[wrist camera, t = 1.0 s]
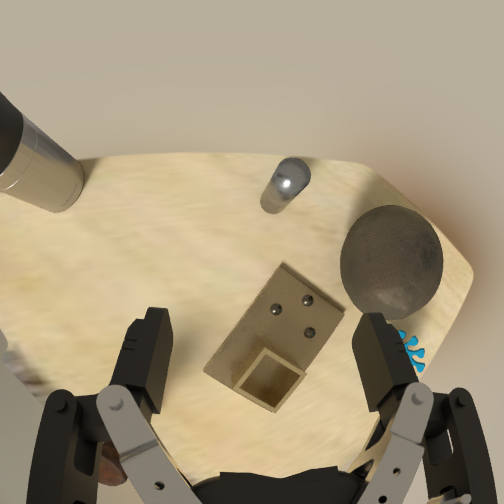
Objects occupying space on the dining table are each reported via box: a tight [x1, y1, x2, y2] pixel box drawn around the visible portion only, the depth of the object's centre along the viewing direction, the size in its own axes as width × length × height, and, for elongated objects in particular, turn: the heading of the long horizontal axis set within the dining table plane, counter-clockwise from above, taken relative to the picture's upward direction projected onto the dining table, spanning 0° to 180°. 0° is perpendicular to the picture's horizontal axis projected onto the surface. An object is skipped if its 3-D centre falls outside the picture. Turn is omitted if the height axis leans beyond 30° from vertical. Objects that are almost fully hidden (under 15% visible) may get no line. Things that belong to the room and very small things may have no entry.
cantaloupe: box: [340, 205, 443, 320], centre depth 34 cm, size 14×14×15 cm
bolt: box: [98, 441, 128, 486], centre depth 28 cm, size 6×5×15 cm
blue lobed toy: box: [399, 330, 425, 378], centre depth 38 cm, size 11×6×10 cm
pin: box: [260, 158, 311, 214], centre depth 34 cm, size 4×4×12 cm
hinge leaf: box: [203, 267, 344, 413], centre depth 36 cm, size 12×18×5 cm, turn 144°
